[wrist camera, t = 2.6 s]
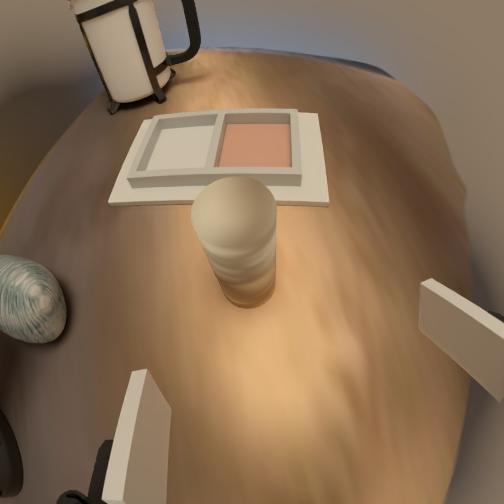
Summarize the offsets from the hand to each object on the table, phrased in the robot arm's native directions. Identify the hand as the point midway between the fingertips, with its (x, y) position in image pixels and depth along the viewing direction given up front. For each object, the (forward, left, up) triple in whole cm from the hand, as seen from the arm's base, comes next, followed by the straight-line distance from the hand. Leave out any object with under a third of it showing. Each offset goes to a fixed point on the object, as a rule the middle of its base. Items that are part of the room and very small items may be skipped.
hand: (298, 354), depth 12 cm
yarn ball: (-29, +3, -13) cm, 32 cm away
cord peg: (-4, +8, -13) cm, 16 cm away
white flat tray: (-9, +25, -13) cm, 30 cm away
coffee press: (-25, +44, -13) cm, 52 cm away
